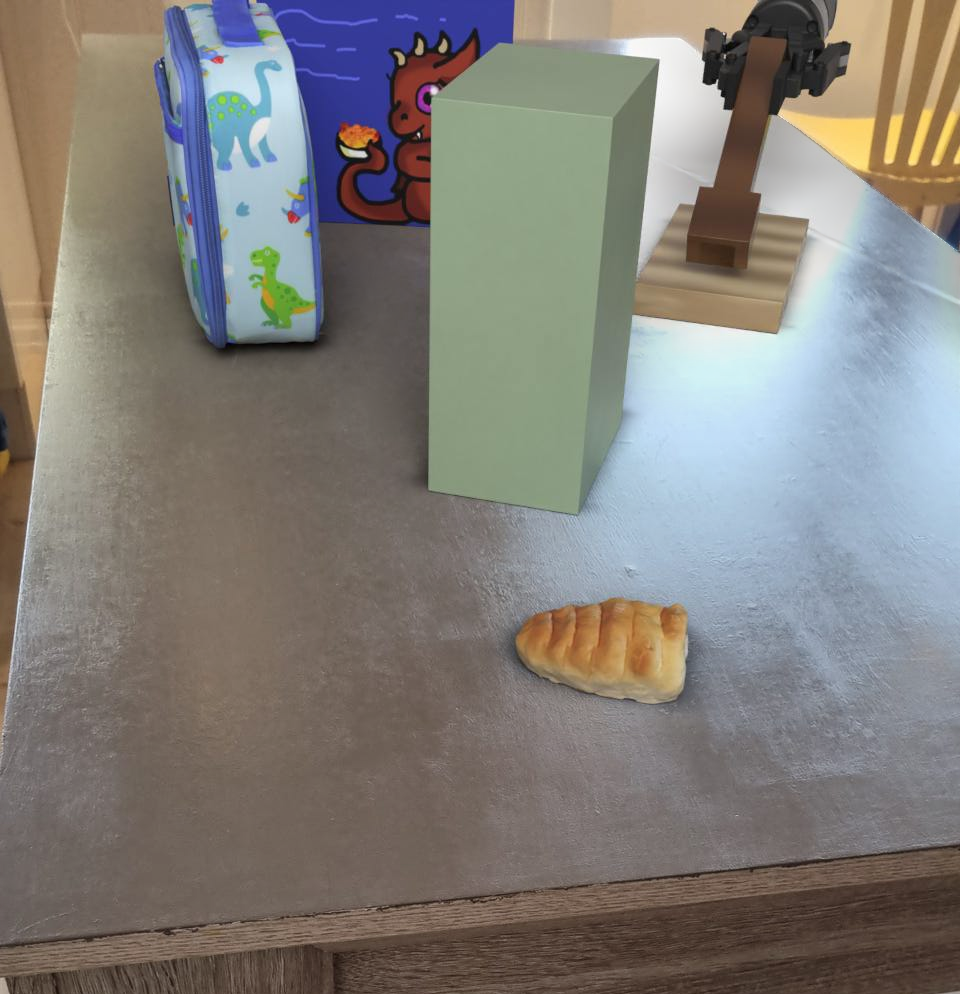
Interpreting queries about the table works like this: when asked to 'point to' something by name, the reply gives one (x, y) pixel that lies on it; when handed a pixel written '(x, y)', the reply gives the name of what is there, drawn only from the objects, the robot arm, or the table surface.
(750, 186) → the walnut mallet
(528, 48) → the plinth
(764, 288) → the maple board
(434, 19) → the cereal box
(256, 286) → the lunch box
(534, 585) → the table surface
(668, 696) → the pastry
